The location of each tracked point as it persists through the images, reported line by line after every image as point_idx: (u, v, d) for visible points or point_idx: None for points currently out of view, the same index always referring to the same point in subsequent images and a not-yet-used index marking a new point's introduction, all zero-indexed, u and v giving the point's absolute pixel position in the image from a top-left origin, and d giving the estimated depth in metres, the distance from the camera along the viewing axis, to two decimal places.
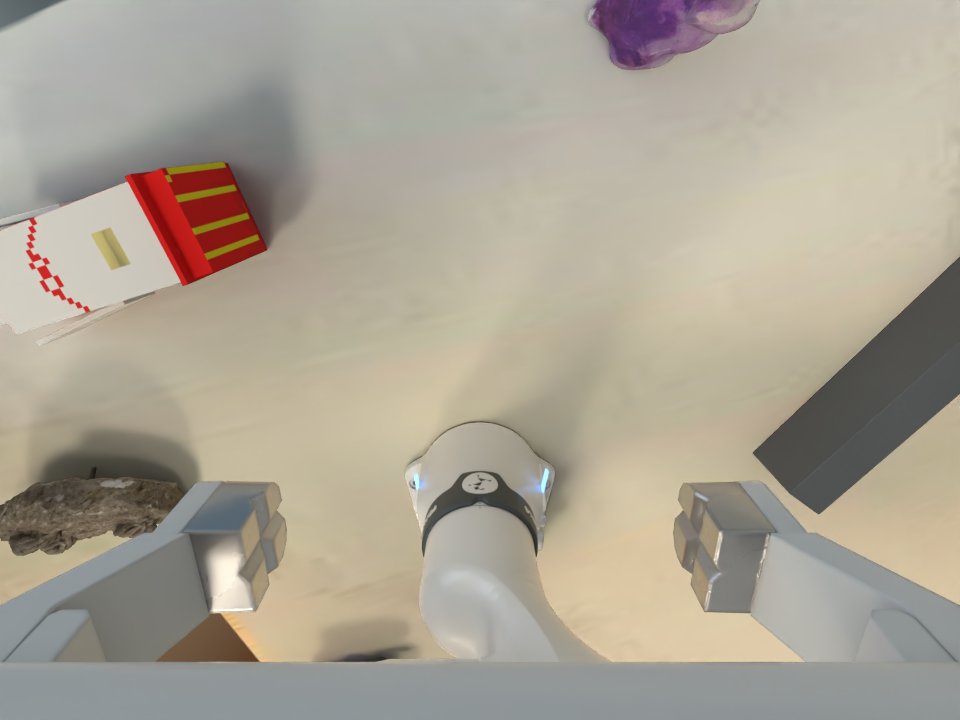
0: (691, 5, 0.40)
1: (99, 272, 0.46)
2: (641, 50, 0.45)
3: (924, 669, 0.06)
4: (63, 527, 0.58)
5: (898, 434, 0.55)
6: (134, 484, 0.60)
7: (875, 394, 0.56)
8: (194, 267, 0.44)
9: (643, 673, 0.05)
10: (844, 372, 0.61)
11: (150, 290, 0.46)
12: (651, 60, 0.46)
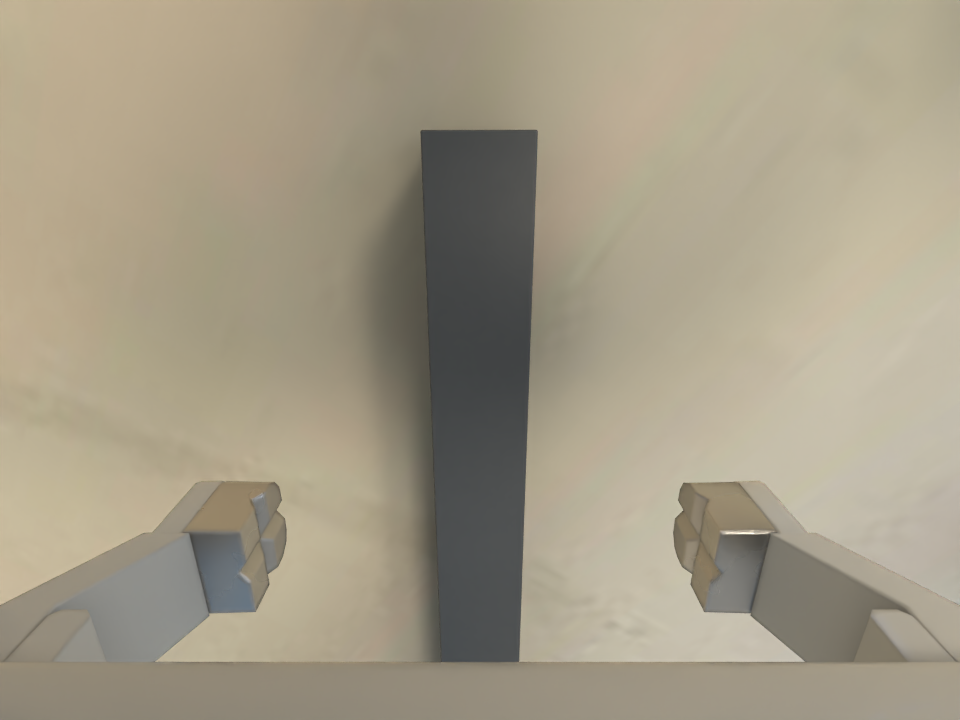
0: None
1: None
2: None
3: (924, 669, 0.06)
4: None
5: (454, 390, 0.26)
6: None
7: None
8: None
9: (643, 673, 0.05)
10: None
11: None
12: None
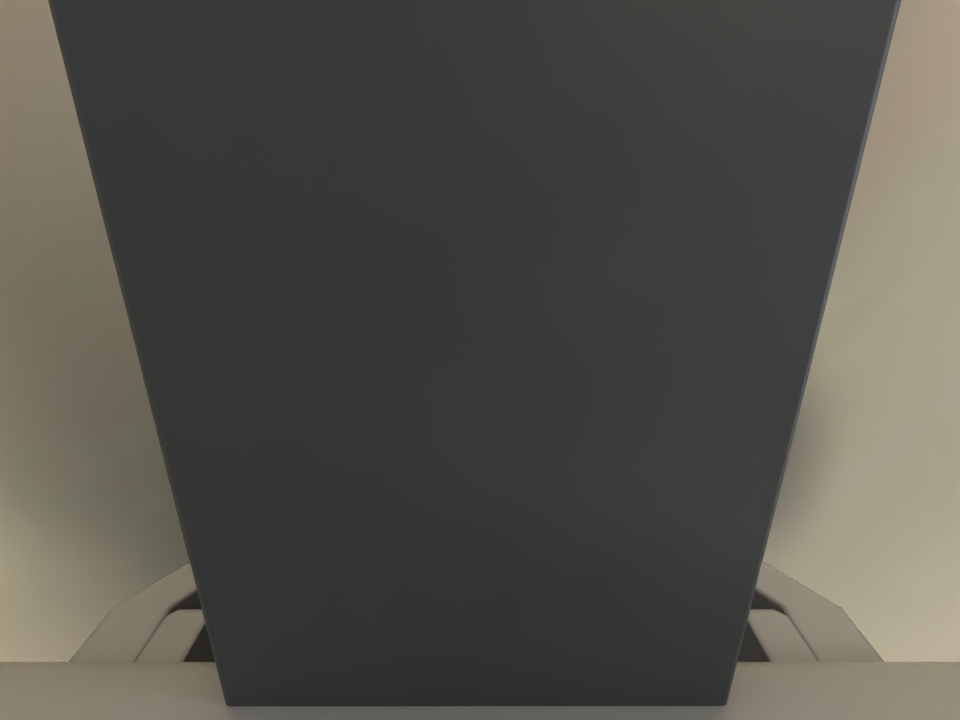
0: None
1: None
2: None
3: (924, 669, 0.06)
4: None
5: None
6: None
7: None
8: None
9: None
10: None
11: None
12: None
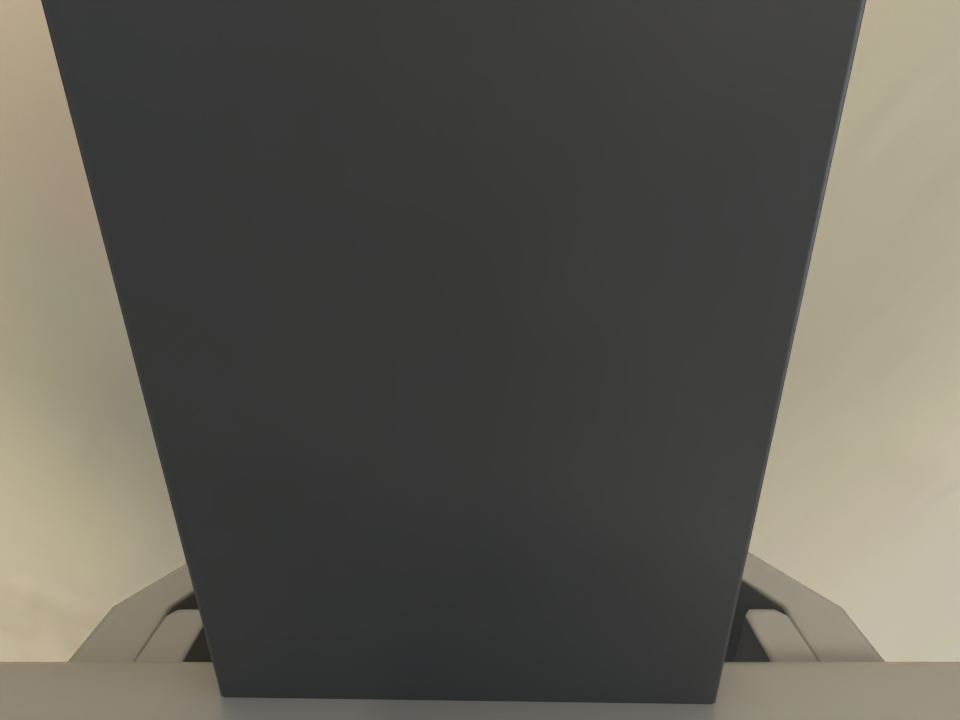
0: None
1: None
2: None
3: (924, 669, 0.06)
4: None
5: None
6: None
7: None
8: None
9: None
10: None
11: None
12: None
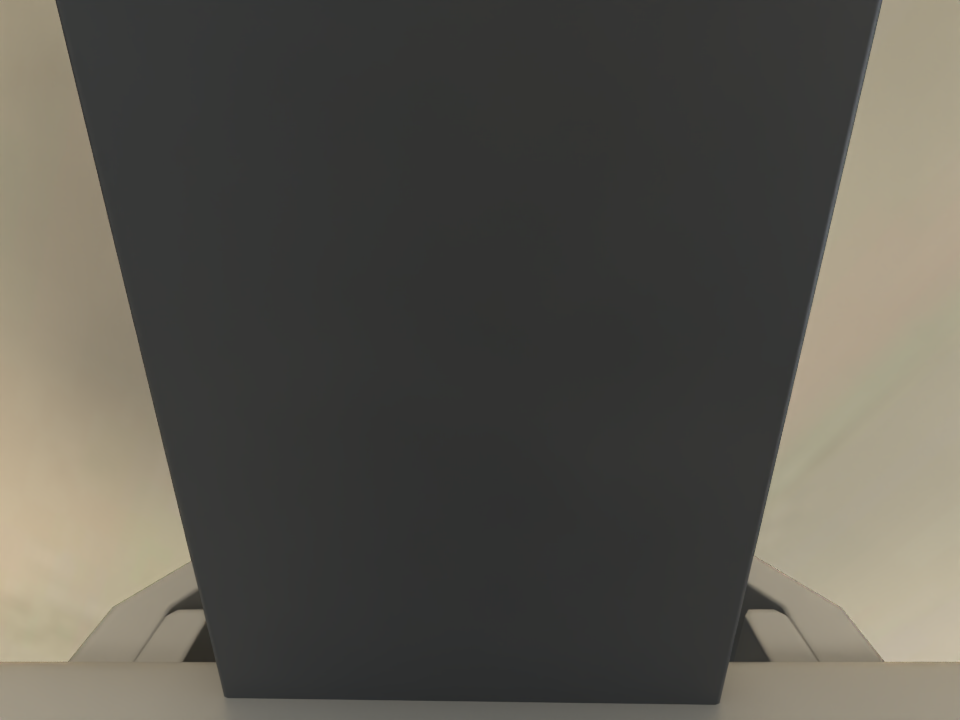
0: None
1: None
2: None
3: (924, 669, 0.06)
4: None
5: None
6: None
7: None
8: None
9: None
10: None
11: None
12: None
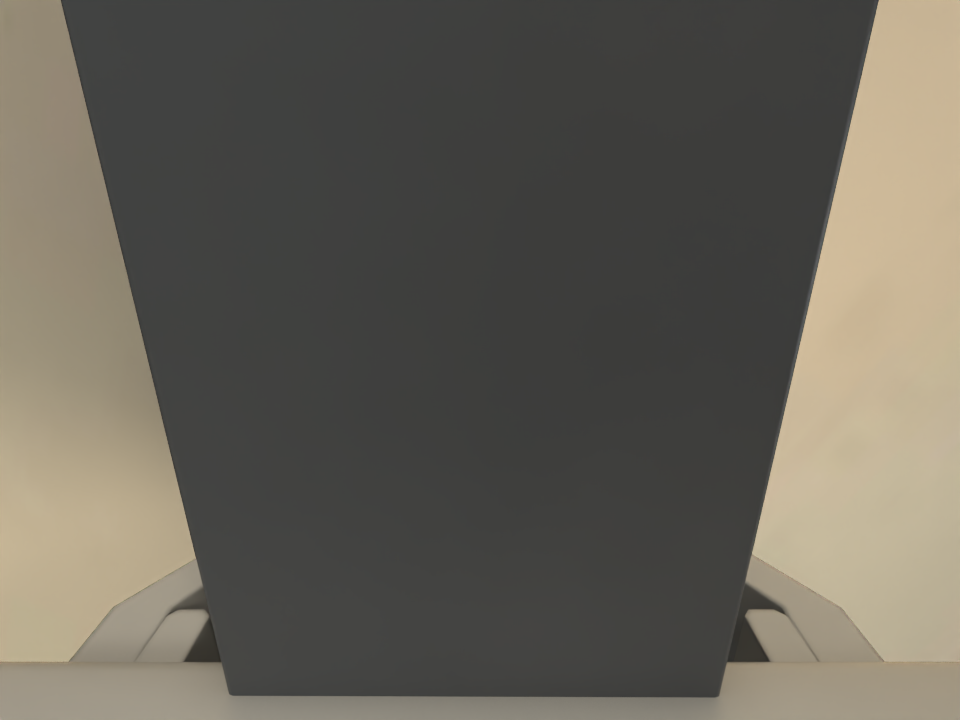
0: None
1: None
2: None
3: (924, 669, 0.06)
4: None
5: None
6: None
7: None
8: None
9: None
10: None
11: None
12: None
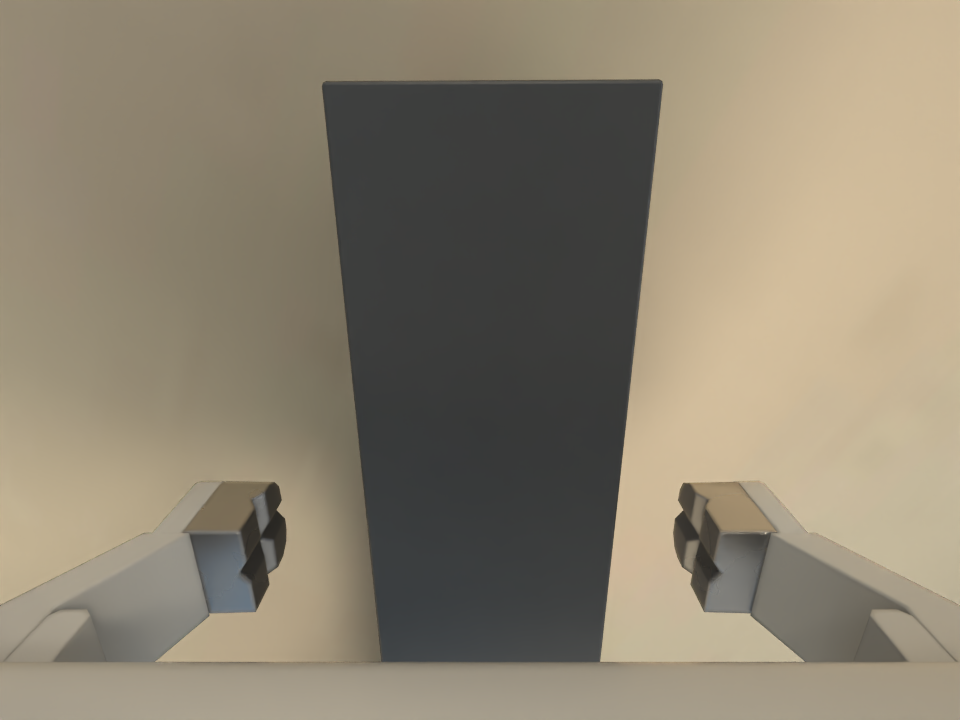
0: None
1: None
2: None
3: (924, 669, 0.06)
4: None
5: None
6: None
7: None
8: None
9: (643, 673, 0.05)
10: None
11: None
12: None
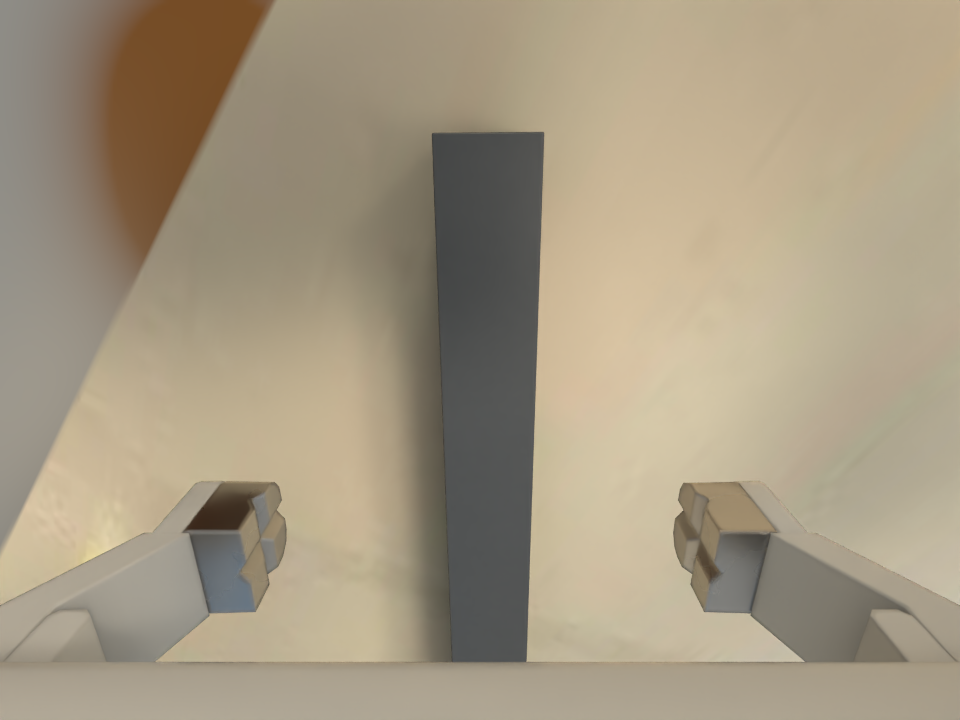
0: None
1: None
2: None
3: (924, 669, 0.06)
4: None
5: (464, 382, 0.27)
6: None
7: None
8: None
9: (643, 673, 0.05)
10: None
11: None
12: None
